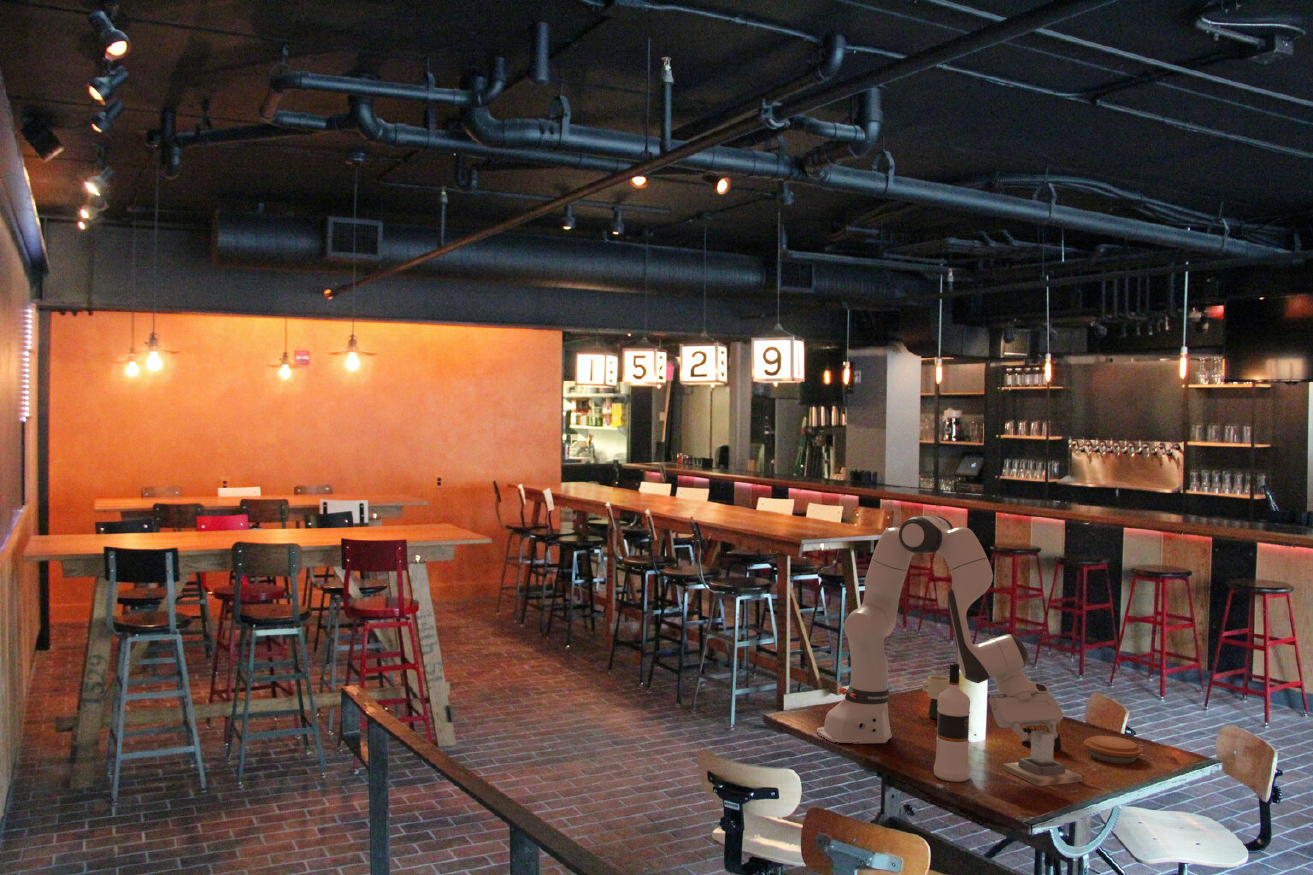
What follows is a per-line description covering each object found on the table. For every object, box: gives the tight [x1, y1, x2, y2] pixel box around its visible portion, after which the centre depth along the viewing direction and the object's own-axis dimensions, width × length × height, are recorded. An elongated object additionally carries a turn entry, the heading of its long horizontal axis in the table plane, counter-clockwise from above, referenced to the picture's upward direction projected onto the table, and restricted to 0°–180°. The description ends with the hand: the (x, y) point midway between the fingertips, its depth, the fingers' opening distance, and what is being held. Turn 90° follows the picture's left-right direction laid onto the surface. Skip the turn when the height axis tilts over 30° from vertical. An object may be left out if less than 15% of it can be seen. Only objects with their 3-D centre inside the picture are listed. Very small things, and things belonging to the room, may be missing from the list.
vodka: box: [933, 662, 971, 783], centre depth 264 cm, size 9×9×30 cm
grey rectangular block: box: [1030, 730, 1054, 767], centre depth 267 cm, size 4×4×10 cm
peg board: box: [1002, 756, 1083, 787], centre depth 267 cm, size 14×14×4 cm
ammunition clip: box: [1021, 721, 1062, 752], centre depth 293 cm, size 11×2×12 cm, turn 58°
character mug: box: [921, 675, 949, 720], centre depth 322 cm, size 11×7×13 cm, turn 57°
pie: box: [1083, 735, 1144, 765], centre depth 285 cm, size 15×16×5 cm
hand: (1040, 738), depth 268 cm, fingers open, 8 cm apart
